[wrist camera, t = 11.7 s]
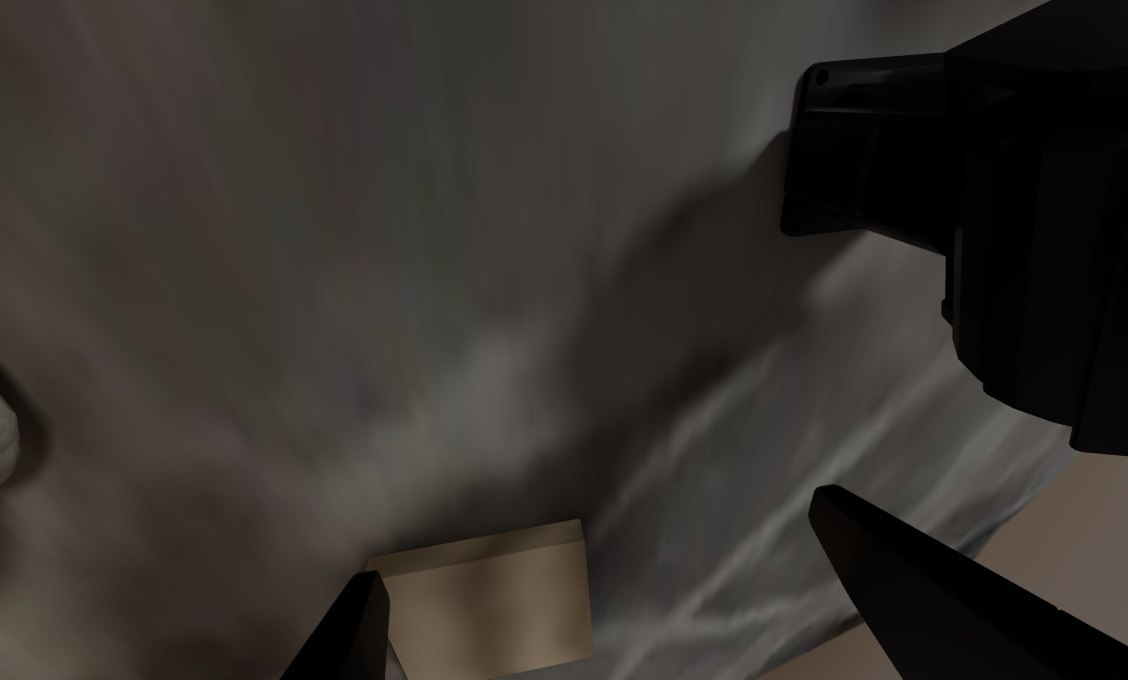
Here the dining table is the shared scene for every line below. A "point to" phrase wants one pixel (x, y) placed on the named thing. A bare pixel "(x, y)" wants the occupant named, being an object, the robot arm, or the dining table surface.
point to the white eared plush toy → (8, 441)
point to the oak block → (490, 603)
